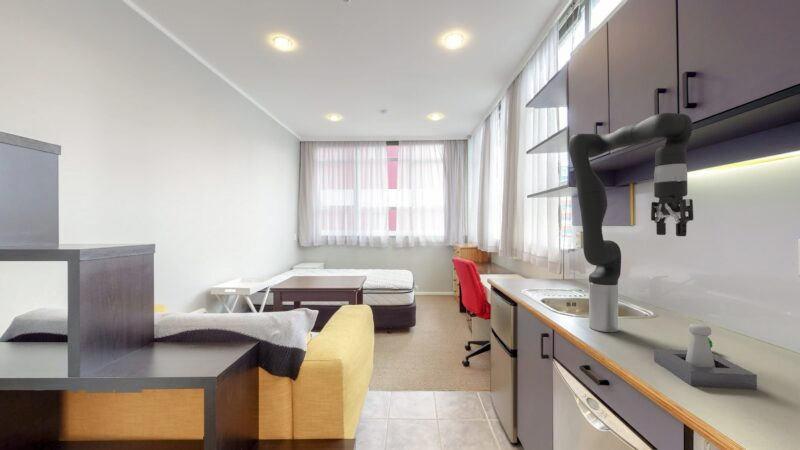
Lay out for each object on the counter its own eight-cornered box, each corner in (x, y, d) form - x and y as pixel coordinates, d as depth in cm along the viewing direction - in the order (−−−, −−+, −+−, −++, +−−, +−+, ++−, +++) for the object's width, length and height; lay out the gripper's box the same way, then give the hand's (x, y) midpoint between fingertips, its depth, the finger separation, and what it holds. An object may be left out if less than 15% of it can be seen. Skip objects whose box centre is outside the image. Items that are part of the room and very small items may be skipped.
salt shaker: (712, 381, 80) (712, 329, 79) (682, 372, 84) (682, 324, 84) (717, 374, 83) (717, 325, 83) (689, 366, 88) (688, 320, 88)
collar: (654, 360, 92) (654, 348, 91) (709, 363, 89) (709, 351, 89) (690, 385, 78) (690, 371, 78) (756, 389, 76) (756, 374, 76)
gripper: (641, 184, 102) (642, 234, 102) (673, 178, 88) (673, 236, 88) (668, 183, 100) (668, 234, 101) (703, 177, 86) (704, 236, 87)
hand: (670, 235), depth 94 cm, fingers open, 8 cm apart
